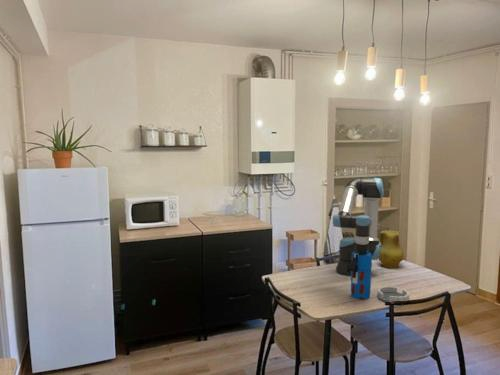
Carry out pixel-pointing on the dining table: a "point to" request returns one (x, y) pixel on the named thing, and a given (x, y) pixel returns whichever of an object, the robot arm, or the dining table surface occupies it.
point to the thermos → (362, 277)
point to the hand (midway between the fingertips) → (360, 280)
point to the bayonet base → (391, 294)
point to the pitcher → (390, 249)
